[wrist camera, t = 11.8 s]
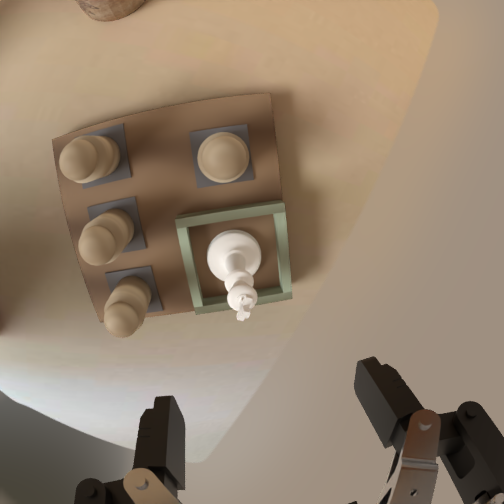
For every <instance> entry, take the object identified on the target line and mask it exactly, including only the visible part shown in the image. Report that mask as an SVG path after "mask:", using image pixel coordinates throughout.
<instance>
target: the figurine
mask: <svg viewBox="0 0 504 504" xmlns="http://www.w3.org/2000/svg"><path fill="white" fill-rule="evenodd" d="M76 1H77V3H78V4H79V5H80V7H81V8H82V10H83V11H84V12H85V13H86V14H87V15H88V16H89V17H90V18H92V19H94V20H97V21H104V22H105V21H113V20H117V19H120V18H123V17H125V16H127V15H129V14H131V13H132V12H134V11H136V10H137V9H138V8H139V7H140V6H141V5H142V4H143V2H144V1H145V0H76Z"/></svg>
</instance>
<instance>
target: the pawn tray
mask: <svg viewBox="0 0 504 504" xmlns="http://www.w3.org/2000/svg"><path fill="white" fill-rule="evenodd" d="M52 144H53V151H54V158H55V165H56V170H57V176H58V182H59V187H60V192H61V197H62V201H63V206H64V210H65V214H66V218H67V222H68V226H69V230H70V234H71V238H72V241H73V245H74V248H75V252H76V255H77V258H78V262H79V265H80V268H81V271H82V274H83V277H84V280H85V283H86V286H87V289H88V292H89V294H90V297H91V300H92V302H93V305H94V308H95V310H96V313H97V315H98V318H99V320H100V322H104V323H105V326H106V328H107V330H108V331H109V332H110V333H111V334H112V335H114V336H116V337H120V338H125V337H128V336H131V335H132V334H133V333H134V332H135V331H136V330H137V329H139V328H140V327H141V325H142V324H143V321H144V318H145V317H153V316H161V315H168V314H176V313H183V312H190V311H195V313H196V315H198V314H204V313H211V312H218V311H224V310H231V309H232V308H231V307H230V306H229V304H228V301H227V295H228V291H227V289H226V287H225V281H222V280H220V279H219V278H217V277H216V276H215V275H214V274H213V273H212V272H211V270H210V268H209V265H208V263H207V249H208V246H209V244H210V243H211V241H212V240H213V239H214V238H215V237H216V236H217V235H219V234H220V233H222V232H224V231H228V230H241V231H244V232H247V233H249V234H250V235H252V236H253V237H254V238H255V239H256V241H257V242H258V244H259V246H260V249H261V263H260V266H259V268H258V270H257V271H256V273H255V274H254V275H253V276H252V277H253V279H254V284H253V288H254V289H255V291H256V292H257V297H258V298H257V302H256V304H255V305H261V304H266V303H272V302H278V301H283V300H288V299H292V286H291V272H290V258H289V246H288V234H287V223H286V212H285V203H284V202H283V201H282V191H281V181H280V171H279V162H278V153H277V144H276V136H275V128H274V119H273V111H272V103H271V96H270V93H261V94H250V95H240V96H231V97H223V98H215V99H208V100H202V101H195V102H189V103H184V104H178V105H173V106H168V107H163V108H158V109H154V110H149V111H145V112H140V113H136V114H132V115H128V116H124V117H121V118H117V119H113V120H110V121H106V122H103V123H100V124H96V125H93V126H90V127H87V128H84V129H80V130H77V131H75V132H72V133H69V134H66V135H63V136H60V137H58V138H55V139H52Z"/></svg>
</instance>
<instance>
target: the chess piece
mask: <svg viewBox="0 0 504 504" xmlns="http://www.w3.org/2000/svg"><path fill="white" fill-rule="evenodd" d="M207 263H208V265H209V268H210V270H211V272H212V273H213V274H214V275H215V276H216V277H217V278H219V279H220V280H222V281H225V287H226V289H227V291H228V295H227V301H228V304H229V306H230V307H231V308H232V309H234V310H236V311H238V313H237V320H241V321H244V319H245V318H249V315H250V313H251V312H250V309H251V308H253V307H254V306H255V304H256V302H257V298H258V297H257V292H256V291H255V289H254V288H253V284H254V279H253V277H252V276H253V275H254V274H255V273H256V271H257V270H258V268H259V266H260V263H261V249H260V246H259V244H258V242H257V241H256V239H255V238H254V237H253V236H252V235H250V234H249V233H247V232H244V231H241V230H228V231H224V232H222V233H220V234H219V235H217V236H216V237H215V238H214V239H213V240H212V241H211V243H210V244H209V246H208V249H207Z"/></svg>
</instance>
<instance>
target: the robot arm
mask: <svg viewBox="0 0 504 504" xmlns="http://www.w3.org/2000/svg"><path fill="white" fill-rule="evenodd" d="M354 389H355V393H356V395H357V397H358V399H359V401H360V403H361V405H362V406H363V408H364V410H365V412H366V414H367V416H368V417H369V419H370V421H371V423H372V425H373V427H374V429H375V431H376V432H377V434H378V436H379V438H380V440H381V442H382V443H383V446H384V447H385V448H387V447H390V446H392V445H393V446H394V448H395V452H394V456H393V459H392V463H391V466H390V469H389V472H388V476H387V479H386V482H385V485H384V487H383V490H382V492H381V494H380V496H379V498H378V501H377V503H376V504H431V501H432V497H433V493H434V489H435V484H436V479H437V474H438V464H436V457H438V456H440V458H441V460H442V462H443V463H444V465H445V467H446V469H447V471H448V473H449V475H450V476H451V479H452V481H453V483H454V484H455V486H456V488H457V490H458V492H459V494H460V496H461V498H462V500H463V503H464V504H504V437H503V436H502V434H501V433H500V431H499V430H498V428H497V427H496V425H495V424H494V423H493V421H492V420H491V418H490V417H489V416H488V414H487V413H486V412H485V410H484V409H483V407H482V406H481V405H480V404H478V403H476V402H473V401H468V402H464V403H463V404H461V405H460V406H459V408H458V410H457V411H454V412H449V413H444V414H437V413H436V412H434V411H432V410H428V409H424V408H423V407H422V405H421V404H420V403H419V401H418V399H417V398H416V397H415V395H414V394H413V393H412V391H411V390H410V389H409V387H408V386H407V385H406V383H405V381H404V380H403V379H402V378H401V376H400V375H399V373H398V372H397V371H396V369H394V368H392V367H391V366H389V365H388V364H384V365H381V364H380V363H379V361H378V360H377V359H376V357H370V358H366V359H363V360H360V361H358V363H357V367H356V375H355V382H354ZM177 490H185V422H184V418H183V415H182V413H181V411H180V409H179V407H178V404H177V402H176V400H175V398H174V396H159V397H156V398H155V401H154V408H153V409H146V410H145V412H144V413H143V415H142V416H141V418H140V423H139V430H138V438H137V443H136V450H135V458H134V465H133V468H132V470H131V471H130V472H128V473H127V475H126V476H125V478H123V479H121V480H117V481H113V482H108V483H101V482H100V481H99V480H97V479H93V478H89V479H85V480H83V481H81V482H80V483H79V484H78V486H77V488H76V495H75V501H74V504H182V503H181V502H180V501H179V500H178V499H177ZM349 504H357V501H355V502H352V503H349Z"/></svg>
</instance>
